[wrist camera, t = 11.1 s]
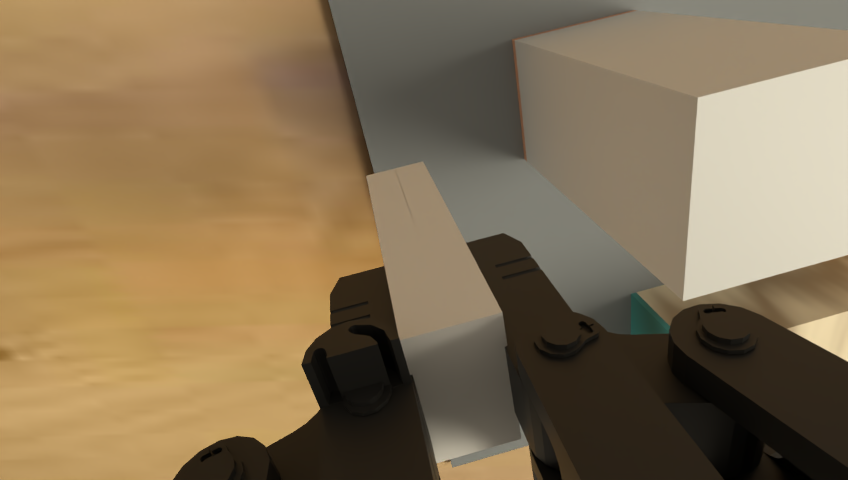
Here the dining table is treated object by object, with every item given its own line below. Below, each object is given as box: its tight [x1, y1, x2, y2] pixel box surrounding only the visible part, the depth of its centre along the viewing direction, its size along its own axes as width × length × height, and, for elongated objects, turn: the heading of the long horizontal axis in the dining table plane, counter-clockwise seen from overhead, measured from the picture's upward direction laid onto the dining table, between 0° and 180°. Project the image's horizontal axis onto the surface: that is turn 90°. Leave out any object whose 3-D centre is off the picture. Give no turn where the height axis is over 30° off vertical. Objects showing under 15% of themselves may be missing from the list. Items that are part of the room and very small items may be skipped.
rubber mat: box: [328, 0, 848, 468], centre depth 24 cm, size 22×28×1 cm
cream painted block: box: [512, 10, 848, 301], centre depth 16 cm, size 5×5×11 cm
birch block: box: [631, 255, 848, 361], centre depth 26 cm, size 5×5×11 cm
